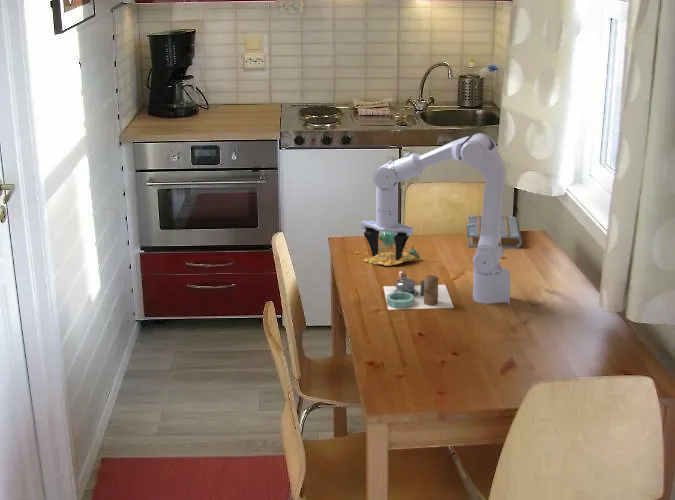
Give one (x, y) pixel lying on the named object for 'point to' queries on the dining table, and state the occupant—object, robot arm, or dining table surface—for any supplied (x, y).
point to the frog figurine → (390, 257)
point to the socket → (400, 299)
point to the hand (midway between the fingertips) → (386, 256)
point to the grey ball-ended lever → (405, 283)
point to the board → (443, 297)
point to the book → (507, 232)
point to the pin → (431, 290)
